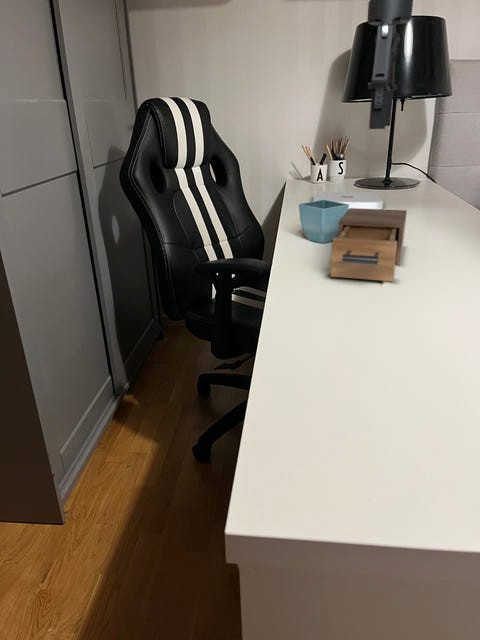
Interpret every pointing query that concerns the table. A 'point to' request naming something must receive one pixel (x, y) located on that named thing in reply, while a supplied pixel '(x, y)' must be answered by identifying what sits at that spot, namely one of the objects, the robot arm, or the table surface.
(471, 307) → the table surface
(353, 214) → the cabinet
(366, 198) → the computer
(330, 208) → the flower pot
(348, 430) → the table surface
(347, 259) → the drawer
